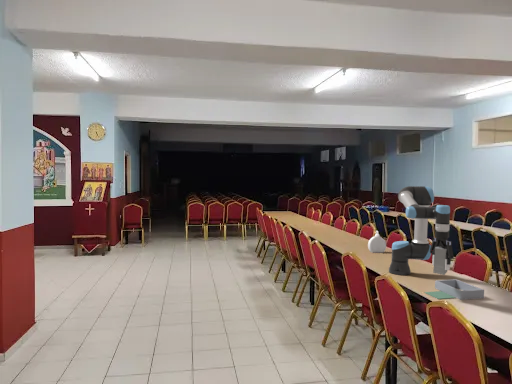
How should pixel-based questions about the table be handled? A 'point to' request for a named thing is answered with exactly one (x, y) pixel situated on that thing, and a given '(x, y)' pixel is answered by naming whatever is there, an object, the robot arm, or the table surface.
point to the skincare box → (439, 260)
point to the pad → (440, 295)
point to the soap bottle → (377, 244)
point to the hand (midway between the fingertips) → (440, 267)
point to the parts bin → (468, 292)
